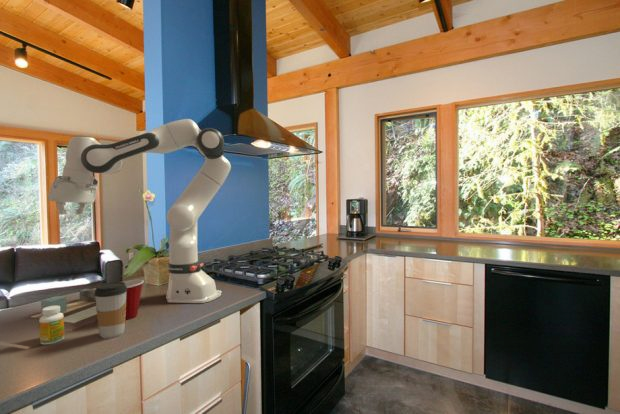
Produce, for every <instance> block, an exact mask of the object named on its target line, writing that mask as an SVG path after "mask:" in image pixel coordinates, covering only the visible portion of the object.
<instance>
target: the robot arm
mask: <svg viewBox="0 0 620 414" xmlns="http://www.w3.org/2000/svg"><path fill="white" fill-rule="evenodd" d="M224 139H225V138H224V136H223V134H222V133H221V131H219V130H218V129H215V128H213V127H206V128H204V129H202V130H201V129H200V128H199V125H198V124H197V122H195V120H192V119H190V118H183V119H178V120H174V121H170V122H167V123H165V124H162V125H159V126H157V127H155V128H153V129H151V130H148V131H146V132H144V133H142V134H140V135H139V134H138V135H136V136H133V137H130V138H126V139H123V140H120V141H116V142H112V143H110V144H109V143H108V144H102V143H100V142H99V141H98V140H97V139H96V138H95V137H92V136H86V135H75V136H73V137H71V138H69V141H68V144H67V147H66V152H65V164H64V166H63V169H62V174H61V175H58V176H57V177H55V178H54V180H53V182H52V183H51V184H50V185H51V186H50V188H49V191H48V195H47V198H48V200H49V201H50V202H54V203H55V202H56V203H55V204H56V208H57V215H61V216H62V215H64V216H65V215H66V213H67V209H66V208H65V206H66V203H75V204H76V203H79V207H78V208H77V209H76V212H75V214H77V215H84V211H85V209H86V208H87V206H88V204H94V202H95V201H96V198H97V194H98V187H97V186H99V183H100V181H99V179H97V178H95V176H94V175H93V173H95V174H105V175H113V174H114V175H115V174H117V173H118V172H120V171H121V170H122V168H123V167H124V165H123V164H124V160H125V159H128V158H132V157H135V156H138V155H141V154H145V153H147V154H148V153H152V154H158V155H159V154H160V155H164V154H168V153H173V152H175V151H179V150H180V149H183V148H186V147H190V146H192V147H193V148H195V150H196V151H197V152H198V153H199V154H200V155H201V156H202V157H203V158H205V160H204V163H203V165H202V166H201V168H200V169H199V170H198V172H197V173H196V174H195V176H193V178H192V180H191V181H190V182H189V184H188V186H186V188H185V189H184V190H183V191H182V193H181V194H180V195H179V196H178V198H177V199H176V200H175V201H174V202H173V204H172V205H171V207H170V208H169V209H168V211H167V214H166V221H167V223H168V225H169V241H168V250H169V251H168V252H169V254H168V256H169V258H168V259H169V261H168V266H167V267H168V270H167V271H168V273H169V277H168V285H167V287H168V288H167V292H166V296H165V299H166V302H167V303H174V304H175V303H177V304H179V303H180V304H181V303H183V304H205V303H208V302H211V301H213V300H216V299H217V298H219V297H220V296H221V295H222V294H221V293H222V290H220V289H219V290H218V289H217V286H216V282H215V279H213V278H212V277H211V276H210V275H208V274H207V273H206V272H205V271H203V269H202V267H203V266H204V263H200V261H199V258H198V249H199V248H198V220H199V218H200V217H201V215H202V214H203V212H204V211H205V210H206V208H207V206H208V205H209V204H210V203H211V202H212V200H213V198H214V197H215V196H216V194H217V193H218V191H219V190H220V189H221V187H222V185H223V184H224V183H225V181H226V180H227V177H228V176H229V173H230V172H231V169H232V166H231V163H230V161H229V160H228V159H227V158H226V157H225V156H224V148H225V140H224Z"/></svg>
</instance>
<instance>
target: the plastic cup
mask: <svg viewBox="0 0 620 414" xmlns="http://www.w3.org/2000/svg"><path fill="white" fill-rule="evenodd" d="M123 282H124V283H125V286H127V291H126V317H125V321H126V320H131V319H134V318H136V317H137V316H138V314H139V307H140V302H141V294H142V289H143V285H144V282H145V281H144V279H131V280H124V281H123Z"/></svg>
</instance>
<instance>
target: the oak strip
mask: <svg viewBox="0 0 620 414" xmlns="http://www.w3.org/2000/svg"><path fill="white" fill-rule="evenodd" d="M95 290H96V289H92V288H84V289H80V290H79V300H78V301H75V302H72V303H68V304H67V311H65V312H62V314H63V315H64V314H66V313H69V312H72V311H75V310H78V309H80V308H83V307H86V306H89V305H93V304H96V297H95ZM42 316H43V315H41V313H39V314H35V315H32V316H30V318H35V319H40V318H41V317H42Z"/></svg>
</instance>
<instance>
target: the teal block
mask: <svg viewBox="0 0 620 414" xmlns="http://www.w3.org/2000/svg"><path fill="white" fill-rule="evenodd" d="M67 305H68V304H67V296H60V295H56V296H51V297H48V298H45V299H44V298H43V299H41V300H40V312H41V315H43V314H42V309H43V308H46V307H49V306H60V313H62V312H65V311H67Z"/></svg>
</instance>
